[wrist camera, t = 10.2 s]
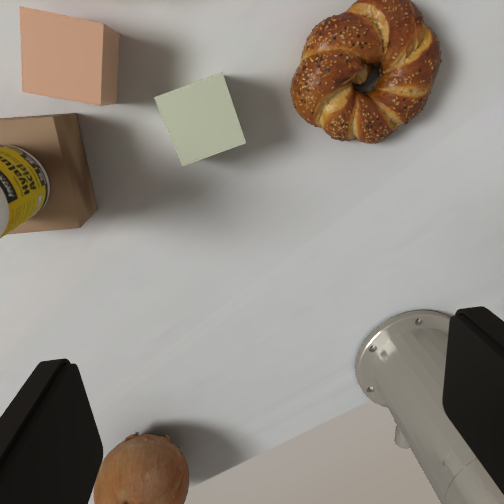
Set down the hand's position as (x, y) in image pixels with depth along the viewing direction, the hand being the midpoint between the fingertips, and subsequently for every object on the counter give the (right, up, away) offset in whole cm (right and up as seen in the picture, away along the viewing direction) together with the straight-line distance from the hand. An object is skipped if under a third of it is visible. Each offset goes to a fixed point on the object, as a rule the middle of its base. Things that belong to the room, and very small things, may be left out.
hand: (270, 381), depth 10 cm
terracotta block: (-13, +18, +20) cm, 30 cm away
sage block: (-4, +14, +23) cm, 27 cm away
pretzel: (+8, +18, +23) cm, 30 cm away
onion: (-12, -19, +36) cm, 42 cm away
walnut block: (-18, +10, +23) cm, 31 cm away
